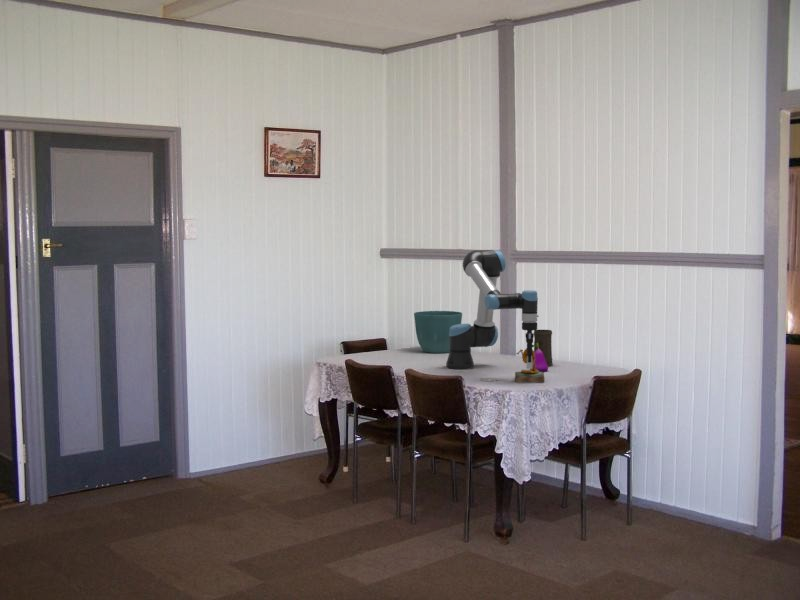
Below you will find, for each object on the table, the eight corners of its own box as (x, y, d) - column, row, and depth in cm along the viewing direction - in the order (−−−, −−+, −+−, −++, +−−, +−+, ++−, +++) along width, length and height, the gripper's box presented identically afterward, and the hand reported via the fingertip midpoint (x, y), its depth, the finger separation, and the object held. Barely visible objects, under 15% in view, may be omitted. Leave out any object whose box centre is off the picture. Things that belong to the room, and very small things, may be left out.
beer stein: (552, 367, 488) (552, 330, 488) (532, 366, 490) (532, 330, 490) (553, 365, 503) (553, 329, 503) (533, 364, 505) (534, 329, 505)
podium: (515, 382, 439) (515, 375, 438) (515, 377, 453) (515, 371, 452) (544, 382, 437) (544, 375, 437) (543, 378, 451) (543, 371, 450)
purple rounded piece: (545, 369, 482) (545, 341, 481) (552, 372, 471) (552, 343, 470) (524, 369, 480) (525, 341, 479) (531, 372, 469) (531, 344, 468)
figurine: (515, 372, 446) (515, 348, 446) (530, 370, 453) (530, 346, 453) (528, 373, 439) (528, 349, 439) (543, 372, 446) (543, 348, 446)
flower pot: (464, 354, 544) (464, 314, 542) (415, 354, 544) (414, 315, 542) (460, 348, 574) (460, 310, 572) (413, 348, 573) (413, 311, 572)
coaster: (479, 382, 442) (479, 380, 442) (480, 379, 450) (480, 377, 450) (497, 382, 440) (497, 380, 440) (498, 379, 449) (498, 378, 449)
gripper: (537, 324, 432) (537, 370, 433) (536, 319, 453) (536, 364, 455) (521, 324, 433) (521, 370, 434) (521, 319, 454) (521, 364, 456)
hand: (529, 367), depth 444 cm, fingers closed on figurine, 9 cm apart
